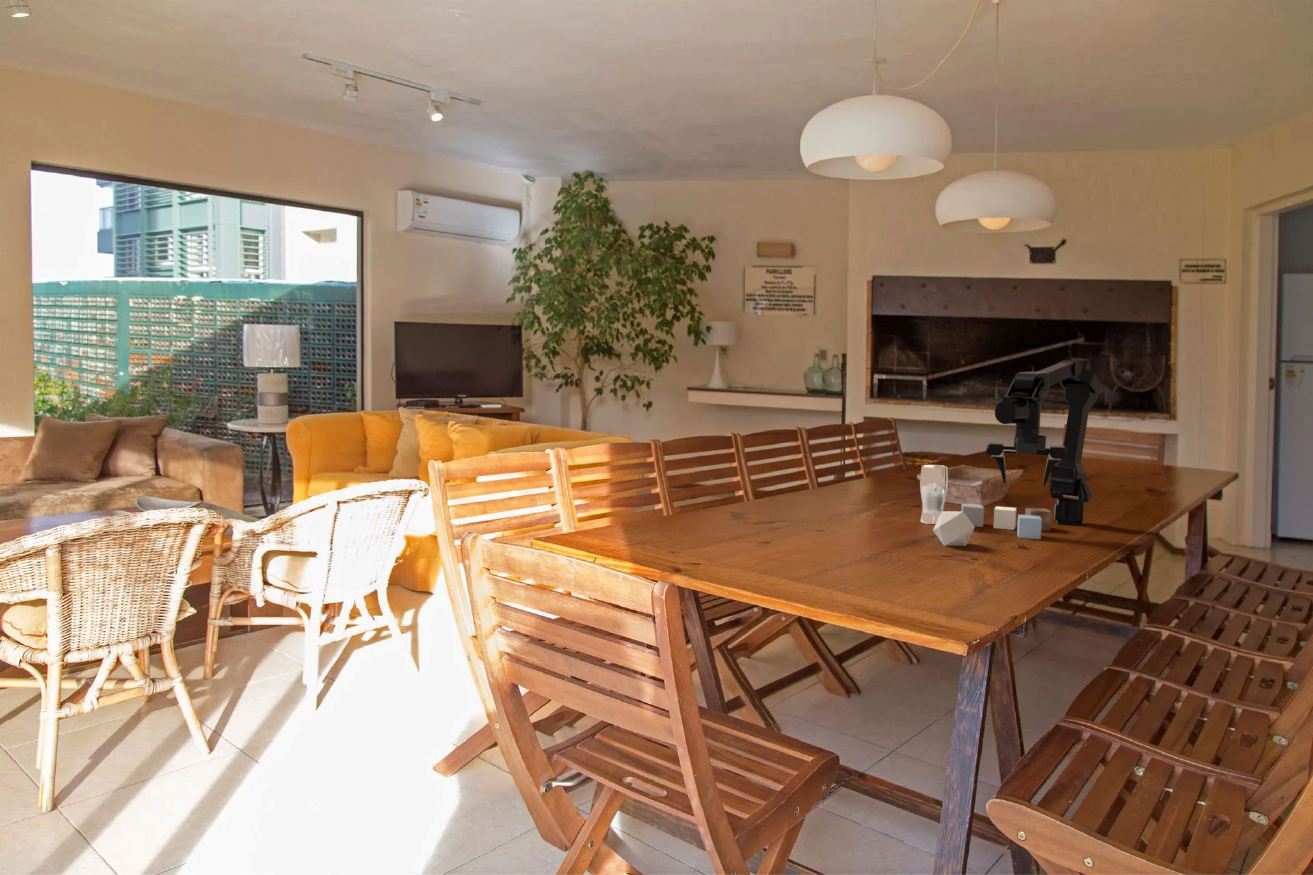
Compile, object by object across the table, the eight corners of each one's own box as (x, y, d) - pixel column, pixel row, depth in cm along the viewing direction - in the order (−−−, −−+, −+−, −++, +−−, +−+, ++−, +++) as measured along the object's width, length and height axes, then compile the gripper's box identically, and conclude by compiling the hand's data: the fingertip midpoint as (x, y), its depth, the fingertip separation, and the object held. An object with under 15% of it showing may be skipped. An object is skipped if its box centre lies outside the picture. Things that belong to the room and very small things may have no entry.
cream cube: (1015, 526, 247) (1016, 507, 246) (1014, 530, 242) (1014, 510, 242) (995, 525, 249) (996, 506, 248) (993, 528, 244) (994, 509, 244)
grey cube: (980, 523, 251) (981, 504, 250) (983, 527, 246) (984, 508, 245) (960, 522, 252) (961, 504, 251) (962, 526, 247) (963, 507, 246)
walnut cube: (1044, 527, 246) (1045, 508, 246) (1050, 531, 241) (1051, 511, 241) (1024, 526, 247) (1025, 507, 246) (1029, 530, 242) (1030, 511, 241)
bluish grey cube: (1038, 535, 235) (1039, 515, 235) (1040, 539, 230) (1041, 519, 230) (1017, 534, 237) (1018, 514, 236) (1018, 538, 232) (1019, 517, 231)
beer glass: (949, 525, 247) (951, 468, 246) (922, 524, 247) (924, 467, 246) (941, 520, 254) (944, 464, 253) (915, 519, 254) (917, 464, 253)
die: (966, 553, 217) (985, 517, 219) (933, 533, 218) (952, 498, 220) (954, 558, 224) (973, 524, 227) (922, 538, 226) (941, 505, 228)
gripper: (987, 423, 233) (983, 486, 234) (1069, 426, 226) (1065, 491, 227) (988, 420, 243) (985, 480, 244) (1067, 423, 236) (1064, 485, 238)
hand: (1024, 484), depth 238 cm, fingers open, 9 cm apart
